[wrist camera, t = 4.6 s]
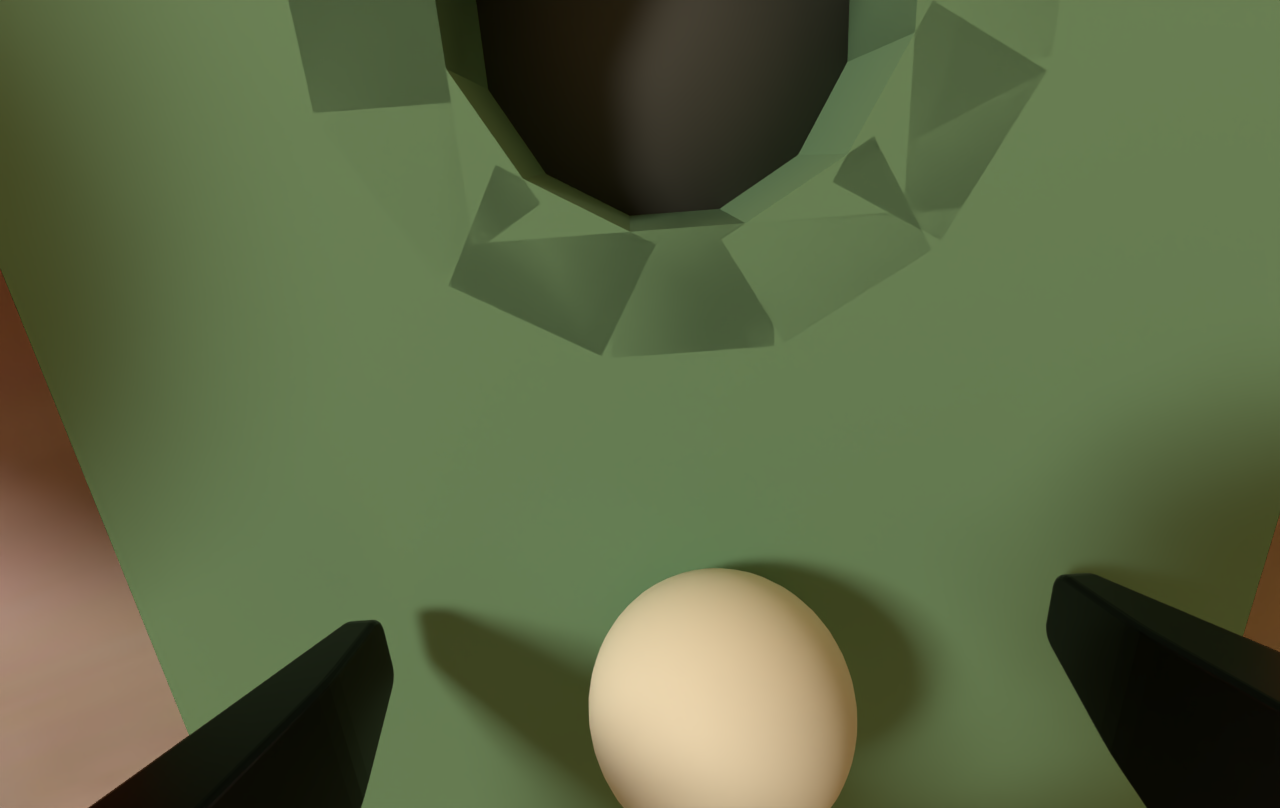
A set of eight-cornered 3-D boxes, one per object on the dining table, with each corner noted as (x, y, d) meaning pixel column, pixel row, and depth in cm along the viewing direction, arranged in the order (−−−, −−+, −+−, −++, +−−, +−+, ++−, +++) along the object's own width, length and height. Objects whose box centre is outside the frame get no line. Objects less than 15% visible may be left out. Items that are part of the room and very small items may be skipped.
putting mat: (1067, 816, 15) (1150, 941, 12) (348, 865, 15) (295, 998, 12) (1329, -419, 8) (1638, -673, 5) (-32, -309, 8) (-315, -509, 5)
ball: (813, 695, 10) (892, 923, 7) (604, 711, 10) (595, 942, 7) (817, 512, 9) (913, 688, 6) (584, 529, 9) (562, 713, 6)
